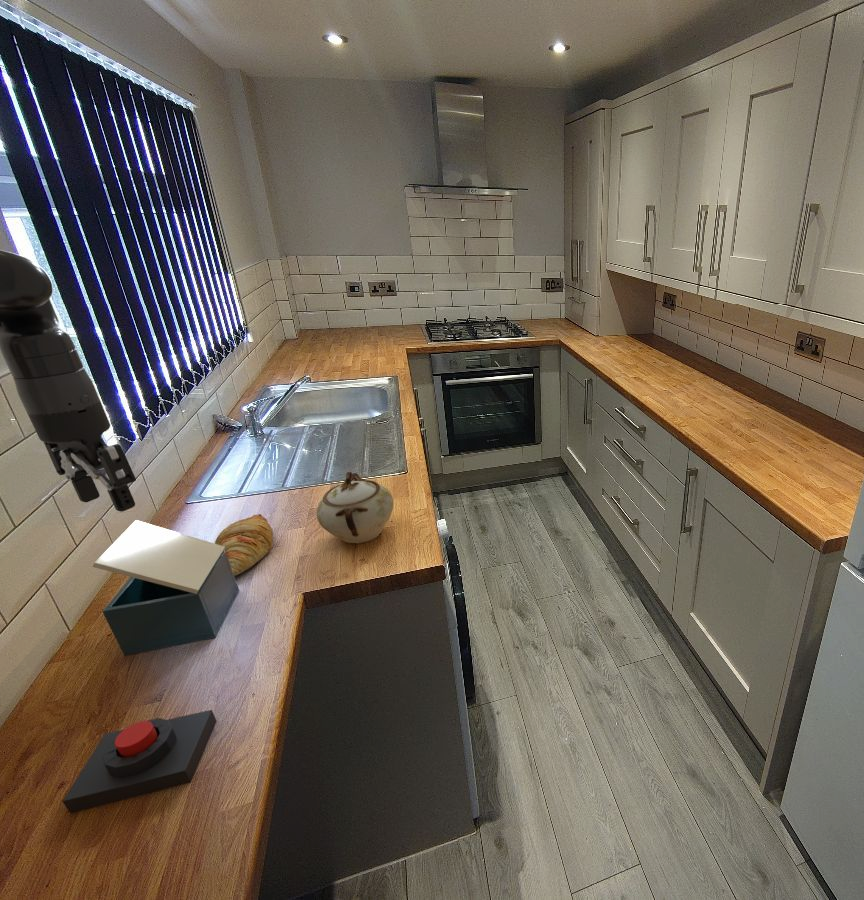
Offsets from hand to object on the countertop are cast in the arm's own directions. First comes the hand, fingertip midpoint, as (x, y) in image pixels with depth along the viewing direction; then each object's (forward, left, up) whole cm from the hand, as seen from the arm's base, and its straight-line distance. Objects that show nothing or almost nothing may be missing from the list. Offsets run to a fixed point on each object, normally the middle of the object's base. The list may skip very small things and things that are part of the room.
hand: (108, 504), depth 80 cm
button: (+10, -30, -20) cm, 37 cm away
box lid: (+4, -1, -10) cm, 11 cm away
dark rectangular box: (+4, -1, -23) cm, 23 cm away
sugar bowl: (+30, +19, -23) cm, 43 cm away
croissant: (+8, +19, -23) cm, 31 cm away
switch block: (+10, -30, -23) cm, 39 cm away
